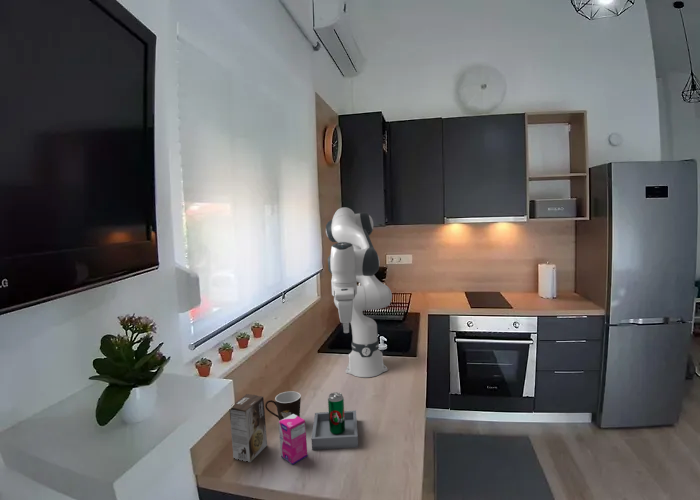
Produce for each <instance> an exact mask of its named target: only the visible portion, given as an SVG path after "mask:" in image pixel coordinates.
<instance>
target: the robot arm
mask: <svg viewBox="0 0 700 500" xmlns="http://www.w3.org/2000/svg"><path fill="white" fill-rule="evenodd" d="M373 231H374V219H373V218H372V216H371V215H370V213H368V212H363V211H362V212H359V213H355V212H354V211H353V209H351V208H349V207H340V208H338V209H337V210H336V211H335V213H334V214H333V216H332V219H330V220H329V221H327V223H326V225H325V234H326V237H327V238H328V240H329V241H330V242H332V243H333V244H332V245H331V249H330V254H329V256H328V257H327V265H328V266H327V267H328V268H327V269H328V272H329V273H330V275H331V280H330V282H331V296H333V303H334V306H335V307H336V308H337V310H338V317H339V321H340V323H341V324H342V328H343V333H344V334H348V333H350V327H351V335H352V340H351V352H350V353H348V364H347V367H346V368H345V371H344V372H345V373H346V374H349V375H351V376H355V377H357V378H371V377H372V378H373V377H377V376H379V375H382V373H385V372H388V367H387V366H386V365H385V363H384V358H383V357H384V356H383V355H384V354H383V352H382V351H381V350H380V349H379V348H380V347H379V345H380V343H379V339H378V324H377V322H376V320H374V319H373V318H371V317H368V316H366V315H364V313H363V311H370V310H379V309H383V308H387V307H389V306H390V304H392V303H391V302H392V299H393V294H392V291H391V288H390V287H389V286H388V285H386V284H385V283H383V282H382V281H380V280H379V279H378V278H377V277H376V275H375V274H377V272H378V271H379V270H380V266H381V265H380V264H381V261H380V257H379V254H378V252H377V250H376V249H375V247H374V245H373V242H372V240H371V238H370V236H371V234H372V232H373ZM357 283H359V284H360V285H358V284H357Z"/></svg>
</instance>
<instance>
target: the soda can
mask: <svg viewBox="0 0 700 500" xmlns="http://www.w3.org/2000/svg"><path fill="white" fill-rule="evenodd" d="M344 398H345V397H344V396H343V393H341V392H331V393H330V394H329V395H328V397H327V405H328V406H327V408H328V411H327V412H329V428H330V432H331V433H332V434H335V435H338V434H342V433H343V432H344V431H345V414H344V411H345V399H344Z"/></svg>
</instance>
